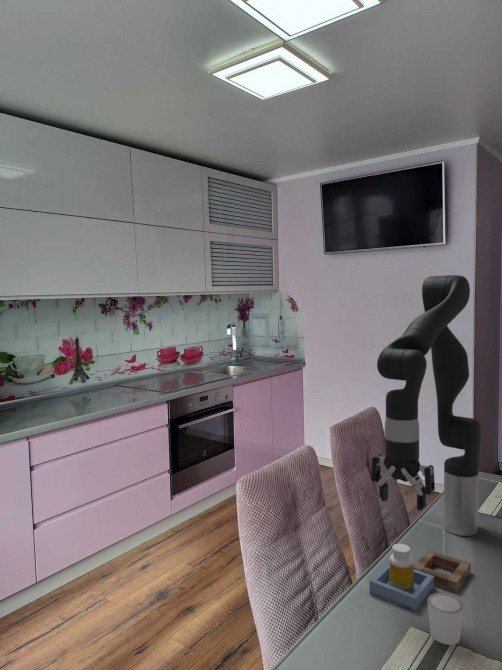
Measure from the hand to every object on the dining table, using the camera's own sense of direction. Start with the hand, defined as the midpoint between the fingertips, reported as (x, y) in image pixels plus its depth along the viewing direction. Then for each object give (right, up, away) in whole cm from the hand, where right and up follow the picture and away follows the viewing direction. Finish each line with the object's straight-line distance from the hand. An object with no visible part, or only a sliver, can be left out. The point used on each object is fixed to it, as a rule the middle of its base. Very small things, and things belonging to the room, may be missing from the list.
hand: (402, 504), depth 114 cm
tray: (+1, -21, +2) cm, 21 cm away
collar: (+12, -20, +8) cm, 25 cm away
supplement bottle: (+1, -20, +2) cm, 20 cm away
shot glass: (+5, -22, -13) cm, 26 cm away
